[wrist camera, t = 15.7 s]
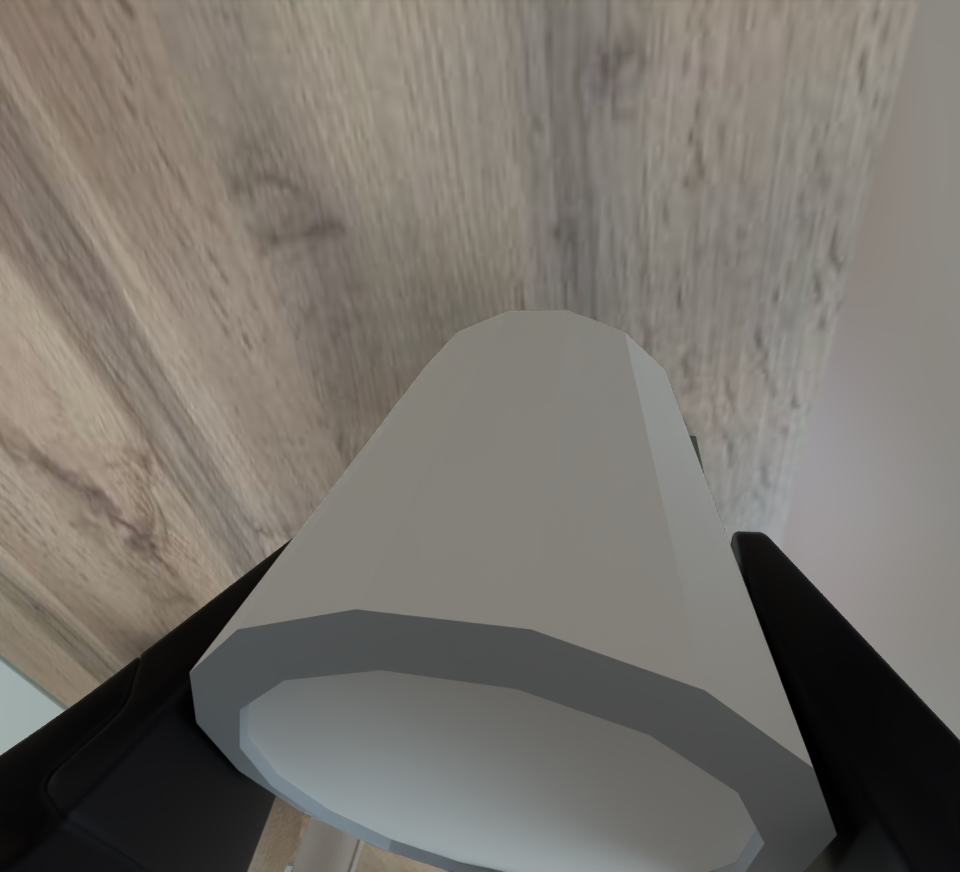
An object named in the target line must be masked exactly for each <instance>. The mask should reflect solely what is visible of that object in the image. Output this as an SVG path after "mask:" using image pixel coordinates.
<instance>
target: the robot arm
mask: <svg viewBox="0 0 960 872" xmlns="http://www.w3.org/2000/svg"><path fill="white" fill-rule="evenodd" d="M293 538H294V537H293ZM293 538H292V539H293ZM292 539H291V540H292ZM291 540H290V541H291ZM290 541H288V542H287V543H286V544H284V545H283V546H282V547H280V548H279V549H278V550H277V551H275V552H274V553H273V554H271V555H270V556H269V557H267V558H266V559H265V560H264V561H262V562H261V563H260V564H258V565H257V566H256V567H254V568H253V569H252V570H251V571H249V572H248V573H247V574H245V575H244V576H243V577H241V578H240V579H239V580H237V581H236V582H235V583H234V584H232V585H231V586H230V587H228V588H227V589H226V590H224V591H223V592H222V593H221V594H219V595H218V596H217V597H215V598H214V599H213V600H211V601H210V602H209V603H208V604H206V605H205V606H204V607H202V608H201V609H200V610H198V611H197V612H196V613H195V614H193V615H192V616H191V617H189V618H188V619H187V620H185V621H184V622H183V623H182V624H180V625H179V626H178V627H176V628H175V629H174V630H172V631H171V632H170V633H168V634H167V635H166V636H165V637H163V638H162V639H161V640H159V641H158V642H157V643H155V644H154V645H153V646H152V647H150V648H149V649H148V650H146V651H145V652H144V653H143V654H142V655H141V657H140V658H136V659H134V660H133V661H132V662H131V663H129V664H128V665H127V666H125V667H124V668H123V669H121V670H120V671H119V672H117V673H116V674H115V675H114V676H112V677H111V678H110V679H108V680H107V681H105V682H104V683H103V684H101V685H100V686H99V687H97V688H96V689H95V690H93V691H92V692H91V693H89V694H88V695H87V696H85V697H84V698H83V699H81V700H80V701H79V702H77V703H76V704H74V705H73V706H71V707H70V708H69V709H67V710H66V711H64V712H63V713H61V714H60V715H59V716H57V717H56V718H54V719H53V720H51V721H50V722H49V723H47V724H46V725H44V726H43V727H41V728H40V729H39V730H37V731H36V732H34V733H33V734H31V735H30V736H29V737H27V738H25V739H24V740H22V741H21V742H19V743H18V744H17V745H15V746H14V747H12V748H11V749H9V750H8V751H6V752H5V753H3V754H2V755H0V872H248V869H249V867H250V864H251V861H252V859H253V856H254V853H255V851H256V848H257V845H258V843H259V840H260V838H261V835H262V832H263V830H264V827H265V824H266V822H267V819H268V816H269V814H270V811H271V809H272V806H273V803H274V801H275V798H276V795H275V794H273V793H272V792H270V791H269V790H267V789H266V788H264V787H263V786H261V785H260V784H258V783H257V782H255V781H254V780H252V779H251V778H249V777H248V776H246V775H245V774H243V773H242V772H240V771H239V770H238V769H237V768H236V767H235V766H234V765H233V764H232V763H231V761H230V760H229V759H228V758H227V757H226V756H225V755H224V753H223V752H222V751H221V750H220V749H219V748H218V747H217V745H216V744H215V743H214V742H213V741H212V740H211V739H210V737H209V736H208V735H207V734H206V733H205V732H204V731H203V730H202V728H201V727H200V726H199V725H198V724H197V723H196V716H195V709H194V701H193V694H192V687H191V680H190V671H191V670H192V669H193V667H194V666H195V665H196V664H197V662H198V661H199V660H200V658H201V657H202V656H203V654H204V653H205V652H206V651H207V649H208V648H209V647H210V645H211V644H212V643H213V641H214V640H215V639H216V638H217V636H218V635H219V634H220V632H221V631H222V630H223V628H224V627H225V626H226V625H227V623H228V622H229V621H230V619H231V618H232V617H233V615H234V614H235V613H236V612H237V610H238V609H239V608H240V606H241V605H242V604H243V603H244V601H245V600H246V599H247V597H248V596H249V595H250V593H251V592H252V591H253V590H254V588H255V587H256V586H257V584H258V583H259V582H260V580H261V579H262V578H263V577H264V575H265V574H266V573H267V571H268V570H269V569H270V567H271V566H272V565H273V564H274V562H275V561H276V560H277V558H278V557H279V556H280V554H281V553H282V552H283V551H284V549H285V548H286V547H287V545H288V544H289V543H290ZM731 549H732V551H733V554H734V557H735V559H736V562H737V565H738V567H739V570H740V573H741V575H742V578H743V581H744V583H745V586H746V589H747V591H748V594H749V597H750V600H751V602H752V605H753V608H754V610H755V613H756V616H757V618H758V621H759V624H760V626H761V629H762V632H763V634H764V637H765V640H766V642H767V645H768V648H769V650H770V653H771V656H772V658H773V661H774V664H775V666H776V669H777V672H778V675H779V677H780V680H781V683H782V685H783V688H784V691H785V693H786V696H787V699H788V701H789V704H790V707H791V709H792V712H793V715H794V717H795V720H796V723H797V725H798V728H799V731H800V733H801V736H802V739H803V742H804V744H805V747H806V750H807V752H808V755H809V758H810V760H811V763H812V766H813V768H814V771H815V774H816V777H817V780H818V782H819V785H820V788H821V791H822V794H823V797H824V799H825V802H826V805H827V808H828V811H829V814H830V816H831V819H832V822H833V825H834V828H835V831H836V833H837V835H836V837H835V838H834V839H833V840H832V841H831V842H830V843H829V844H828V845H827V846H826V848H825V849H824V850H823V851H822V852H821V853H820V854H819V855H818V856H817V857H816V859H815V860H814V861H813V862H812V863H811V864H810V865H809V866H808V867H807V869H806V870H805V871H804V872H960V740H959V739H958V738H957V737H956V736H955V735H954V734H953V732H952V731H951V730H950V729H949V728H948V727H947V726H946V725H945V724H944V723H943V722H942V721H941V720H940V719H939V717H937V715H936V714H935V713H934V712H933V711H932V710H931V709H930V708H929V707H928V706H927V705H926V704H925V703H924V702H923V701H922V699H921V698H919V696H918V695H917V694H916V693H915V692H914V691H913V690H912V689H911V688H910V687H909V686H908V685H907V684H906V683H905V681H904V680H903V679H901V677H900V676H899V675H898V674H897V673H896V672H895V671H894V670H893V669H892V668H891V667H890V666H889V664H888V663H887V662H886V661H885V660H884V659H883V658H882V657H881V656H880V655H879V654H878V653H877V652H876V651H875V650H874V649H873V648H872V646H871V645H870V644H869V643H868V642H867V641H866V640H865V639H864V638H863V637H862V636H861V635H860V634H859V633H858V632H857V631H856V629H855V628H853V626H852V625H851V624H850V623H849V622H848V621H847V620H846V619H845V618H844V617H843V616H842V615H841V614H840V613H839V611H838V610H837V609H836V608H835V607H834V606H833V605H832V604H831V603H830V602H829V601H828V600H827V599H826V598H825V597H824V596H823V594H822V593H821V592H820V591H819V590H818V589H817V588H816V587H815V586H814V585H813V584H812V583H811V582H810V581H809V580H808V579H807V577H806V576H805V575H804V574H803V573H802V572H801V571H800V570H799V569H798V568H797V567H796V566H795V565H794V564H793V563H792V562H791V561H790V560H789V558H788V557H787V556H786V555H785V554H784V553H783V552H782V551H781V550H780V549H779V548H778V547H777V546H776V545H775V544H774V542H773V541H772V540H771V539H770V538H769V537H768V536H767V535H765V534H764V533H761V532H741V531H739V532H736V533H734V535H733V537H732V541H731Z"/></svg>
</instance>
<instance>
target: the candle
mask: <svg viewBox="0 0 960 872" xmlns="http://www.w3.org/2000/svg"><path fill="white" fill-rule="evenodd" d="M363 845H364V841H362V840H360V839H358V838H356V837H354V836H352V835H349V834H347V833H345V832H343V831H341V830H339V829H336V828H334V827H332V826H330V825H328V824H326V823H323V822H321V821H319V820H317V819H315V818H313V817H311V816H310V819H309V822H308V824H307V827H306V830H305V833H304V836H303V839H302V842H301V845H300V847H299V850H298V853H297V856H296V859H295V862H294V864H293V867H292V870H291V872H354V871H355V868H356V866H357V863H358V860H359V857H360V854H361V851H362V847H363Z"/></svg>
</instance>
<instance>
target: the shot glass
mask: <svg viewBox="0 0 960 872" xmlns="http://www.w3.org/2000/svg"><path fill="white" fill-rule="evenodd" d="M190 680H191V687H192V694H193V701H194V709H195V716H196V723H197V724H198V725H199V726H200V727H201V728H202V730H203V731H204V732H205V733H206V734H207V735H208V736H209V737H210V739H211V740H212V741H213V742H214V743H215V744H216V745H217V747H218V748H219V749H220V750H221V751H222V752H223V753H224V755H225V756H226V757H227V758H228V759H229V760H230V761H231V763H232V764H233V765H234V766H235V767H236V768H237V769H238V770H239V771H240V772H242V773H243V774H245V775H246V776H248V777H249V778H251V779H252V780H254V781H255V782H257V783H258V784H260V785H261V786H263V787H264V788H266V789H267V790H269V791H270V792H272V793H273V794H275V795H276V796H278V797H279V798H281V799H282V800H284V801H285V802H287V803H288V804H290V805H291V806H293V807H294V808H296V809H297V810H299V811H300V812H302V813H304V814H306V815H308V816H311V817H313V818H315V819H317V820H319V821H321V822H323V823H326V824H328V825H330V826H332V827H334V828H336V829H339V830H341V831H343V832H345V833H347V834H349V835H352V836H354V837H356V838H358V839H360V840H362V841H364V842H367V843H369V844H371V845H373V846H375V847H378V848H381V849H384V850H386V851H389V852H392V853H395V854H398V855H402V856H405V857H408V858H411V859H414V860H417V861H420V862H423V863H426V864H429V865H432V866H435V867H438V868H441V869H444V870H447V871H450V872H804V871H805V870H806V869H807V867H808V866H809V865H810V864H811V863H812V862H813V861H814V860H815V859H816V857H817V856H818V855H819V854H820V853H821V852H822V851H823V850H824V849H825V848H826V846H827V845H828V844H829V843H830V842H831V841H832V840H833V839H834V838H835V837H836V835H837V833H836V831H835V828H834V825H833V822H832V819H831V816H830V814H829V811H828V808H827V805H826V802H825V799H824V797H823V794H822V791H821V788H820V785H819V782H818V780H817V777H816V774H815V771H814V768H813V766H812V763H811V760H810V758H809V755H808V752H807V750H806V747H805V744H804V742H803V739H802V736H801V733H800V731H799V728H798V725H797V723H796V720H795V717H794V715H793V712H792V709H791V707H790V704H789V701H788V699H787V696H786V693H785V691H784V688H783V685H782V683H781V680H780V677H779V675H778V672H777V669H776V666H775V664H774V661H773V658H772V656H771V653H770V650H769V648H768V645H767V642H766V640H765V637H764V634H763V632H762V629H761V626H760V624H759V621H758V618H757V616H756V613H755V610H754V608H753V605H752V602H751V600H750V597H749V594H748V591H747V589H746V586H745V583H744V581H743V578H742V575H741V573H740V570H739V567H738V565H737V562H736V559H735V557H734V554H733V551H732V549H731V546H730V543H729V541H728V538H727V535H726V533H725V530H724V527H723V524H722V522H721V519H720V516H719V514H718V511H717V508H716V506H715V503H714V500H713V498H712V495H711V492H710V490H709V487H708V484H707V482H706V479H705V476H704V474H703V471H702V468H701V466H700V463H699V460H698V457H697V455H696V452H695V449H694V447H693V444H692V441H691V439H690V436H689V433H688V431H687V428H686V425H685V423H684V420H683V417H682V415H681V412H680V409H679V407H678V404H677V401H676V399H675V396H674V393H673V391H672V388H671V385H670V382H669V380H668V377H667V374H666V372H665V369H664V368H663V367H662V366H661V365H659V364H658V363H657V362H656V361H655V360H654V359H653V358H652V357H651V356H650V355H649V354H648V353H647V352H646V351H645V350H644V349H643V348H642V347H641V346H639V345H638V344H637V343H636V342H635V341H634V340H633V339H632V338H631V337H630V336H629V335H628V334H627V333H626V332H625V331H622V330H620V329H617V328H614V327H612V326H609V325H606V324H604V323H601V322H598V321H596V320H593V319H590V318H588V317H585V316H582V315H580V314H577V313H574V312H572V311H569V310H529V311H506V312H504V313H501V314H499V315H496V316H494V317H492V318H489V319H487V320H484V321H482V322H479V323H477V324H475V325H472V326H470V327H467V328H465V329H463V330H460V331H458V332H457V333H456V334H455V335H454V336H453V337H452V338H451V339H450V340H449V341H448V342H447V343H446V344H445V346H444V347H443V348H442V349H441V350H440V351H439V352H438V353H437V354H436V355H435V356H434V357H433V359H432V360H431V361H430V362H429V363H428V364H427V365H426V366H425V367H424V369H423V370H422V371H421V373H420V374H419V375H418V376H417V378H416V379H415V380H414V382H413V383H412V384H411V386H410V387H409V388H408V389H407V391H406V392H405V393H404V395H403V396H402V397H401V399H400V400H399V401H398V402H397V404H396V405H395V406H394V408H393V409H392V410H391V412H390V413H389V414H388V415H387V417H386V418H385V419H384V421H383V422H382V423H381V425H380V426H379V427H378V428H377V430H376V431H375V432H374V434H373V435H372V436H371V437H370V439H369V440H368V441H367V443H366V444H365V445H364V447H363V448H362V449H361V450H360V452H359V453H358V454H357V456H356V457H355V458H354V460H353V461H352V462H351V463H350V465H349V466H348V467H347V469H346V470H345V471H344V473H343V474H342V475H341V476H340V478H339V479H338V480H337V482H336V483H335V484H334V486H333V487H332V488H331V489H330V491H329V492H328V493H327V495H326V496H325V497H324V499H323V500H322V501H321V502H320V504H319V505H318V506H317V508H316V509H315V510H314V512H313V513H312V514H311V515H310V517H309V518H308V519H307V521H306V522H305V523H304V525H303V526H302V527H301V528H300V530H299V531H298V532H297V534H296V535H295V536H294V538H293V539H292V540H291V541H290V543H289V544H288V545H287V547H286V548H285V549H284V551H283V552H282V553H281V554H280V556H279V557H278V558H277V560H276V561H275V562H274V564H273V565H272V566H271V567H270V569H269V570H268V571H267V573H266V574H265V575H264V577H263V578H262V579H261V580H260V582H259V583H258V584H257V586H256V587H255V588H254V590H253V591H252V592H251V593H250V595H249V596H248V597H247V599H246V600H245V601H244V603H243V604H242V605H241V606H240V608H239V609H238V610H237V612H236V613H235V614H234V615H233V617H232V618H231V619H230V621H229V622H228V623H227V625H226V626H225V627H224V628H223V630H222V631H221V632H220V634H219V635H218V636H217V638H216V639H215V640H214V641H213V643H212V644H211V645H210V647H209V648H208V649H207V651H206V652H205V653H204V654H203V656H202V657H201V658H200V660H199V661H198V662H197V664H196V665H195V666H194V667H193V669H192V670H191V671H190Z"/></svg>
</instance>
